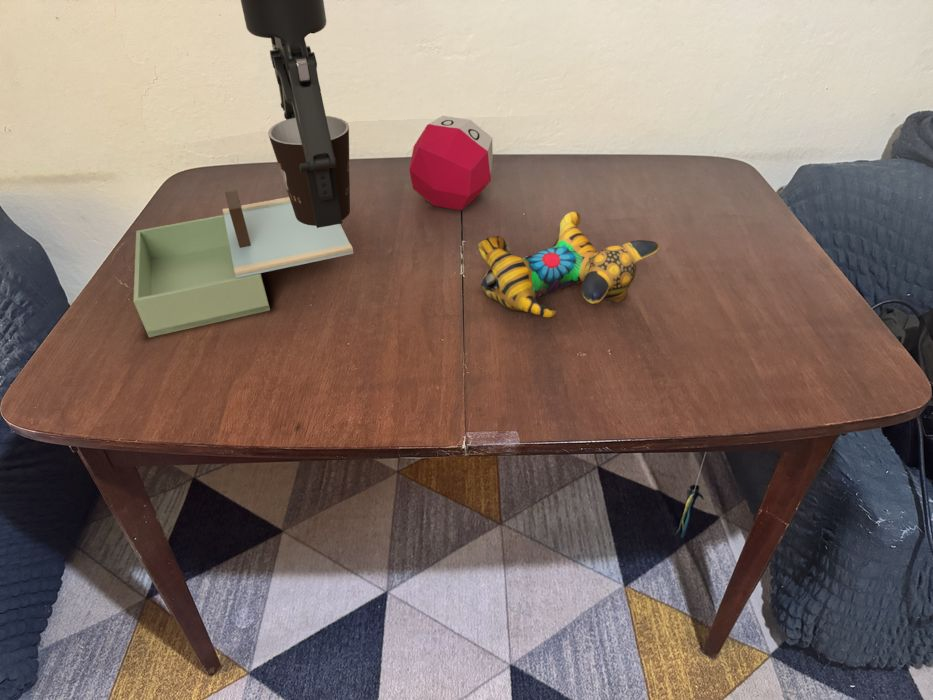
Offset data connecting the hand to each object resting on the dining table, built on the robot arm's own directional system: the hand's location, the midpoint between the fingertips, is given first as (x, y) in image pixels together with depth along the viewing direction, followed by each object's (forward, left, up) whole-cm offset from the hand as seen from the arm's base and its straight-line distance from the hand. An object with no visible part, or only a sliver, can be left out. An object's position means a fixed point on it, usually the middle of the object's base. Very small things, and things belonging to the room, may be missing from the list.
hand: (318, 199), depth 73 cm
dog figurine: (+31, -3, -20) cm, 37 cm away
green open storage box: (-16, +21, -20) cm, 33 cm away
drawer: (-3, +21, -14) cm, 25 cm away
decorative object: (+28, +33, -20) cm, 47 cm away
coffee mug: (0, +1, -3) cm, 3 cm away
